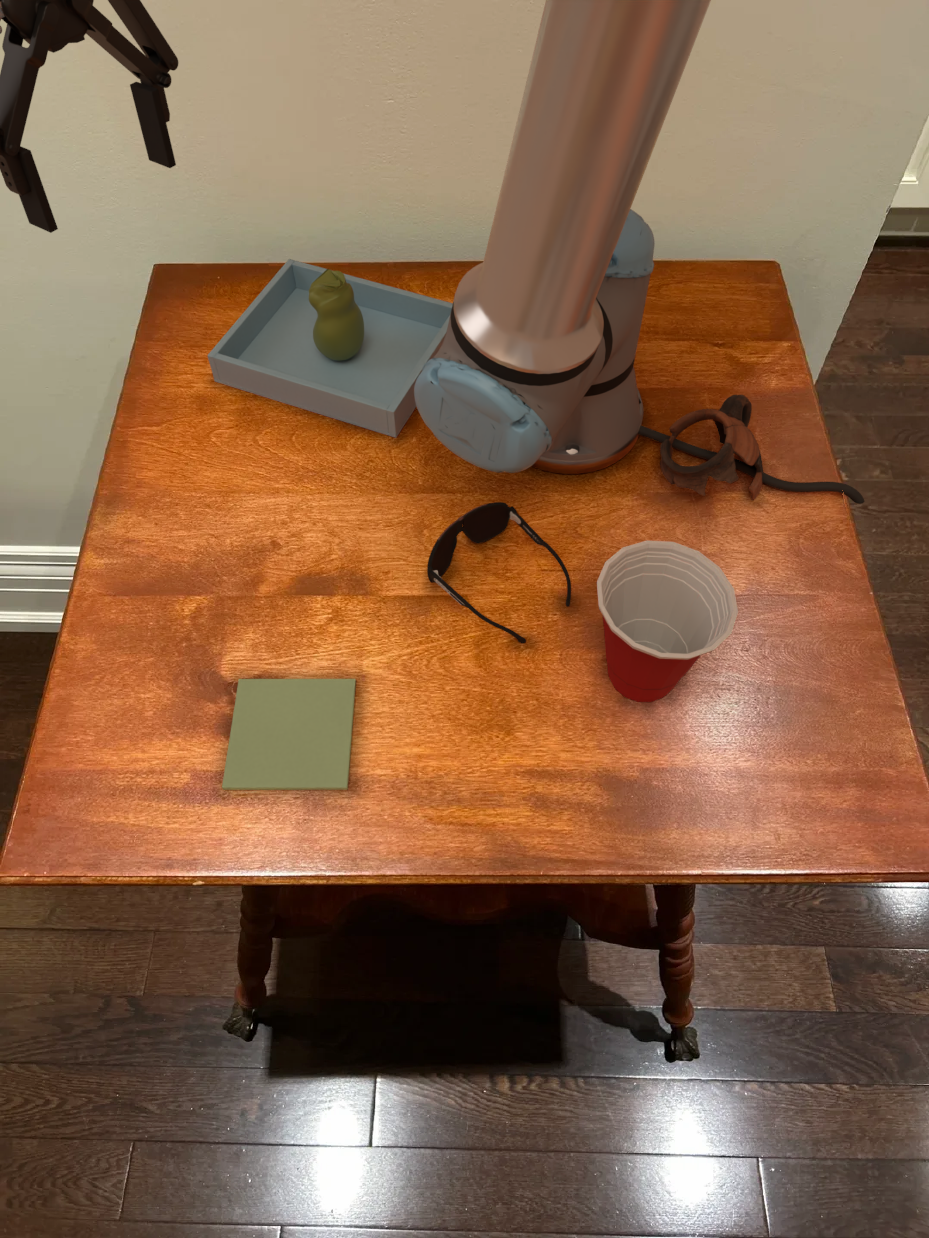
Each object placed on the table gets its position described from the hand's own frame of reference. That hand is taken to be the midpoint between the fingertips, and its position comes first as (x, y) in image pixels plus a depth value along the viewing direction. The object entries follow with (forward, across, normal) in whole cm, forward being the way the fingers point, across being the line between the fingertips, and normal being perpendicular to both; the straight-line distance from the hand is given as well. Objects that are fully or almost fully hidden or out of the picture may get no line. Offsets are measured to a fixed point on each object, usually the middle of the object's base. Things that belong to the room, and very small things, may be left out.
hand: (105, 193), depth 83 cm
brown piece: (+23, -23, +52) cm, 62 cm away
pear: (+21, -16, +11) cm, 29 cm away
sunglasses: (+24, 0, +43) cm, 49 cm away
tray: (+22, -16, +11) cm, 29 cm away
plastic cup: (+25, +1, +58) cm, 63 cm away
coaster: (+26, +22, +36) cm, 50 cm away
